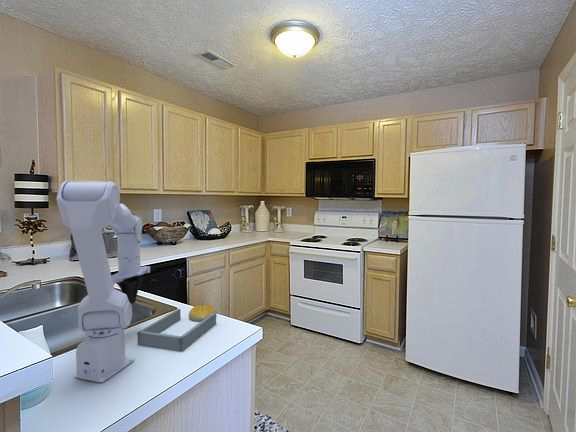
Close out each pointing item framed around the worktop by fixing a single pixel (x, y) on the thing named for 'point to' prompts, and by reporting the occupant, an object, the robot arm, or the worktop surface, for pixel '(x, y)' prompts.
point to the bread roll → (201, 312)
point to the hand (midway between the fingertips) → (130, 302)
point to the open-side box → (179, 343)
